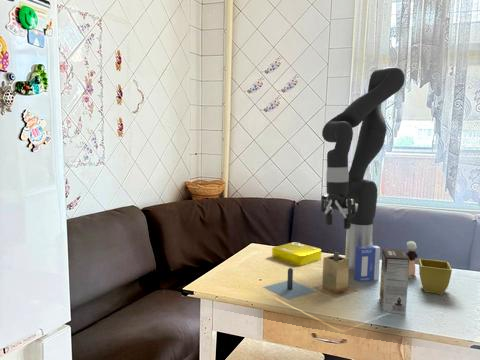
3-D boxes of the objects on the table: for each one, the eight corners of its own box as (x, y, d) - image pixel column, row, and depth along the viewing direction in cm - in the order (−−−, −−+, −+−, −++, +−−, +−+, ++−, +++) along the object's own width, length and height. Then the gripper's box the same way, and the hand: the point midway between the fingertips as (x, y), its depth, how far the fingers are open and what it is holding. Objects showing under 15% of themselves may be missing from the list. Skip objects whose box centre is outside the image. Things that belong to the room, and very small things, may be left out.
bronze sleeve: (334, 284, 136) (335, 254, 135) (347, 289, 132) (349, 259, 131) (322, 288, 133) (323, 257, 132) (335, 293, 129) (337, 262, 127)
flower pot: (446, 288, 136) (448, 261, 135) (450, 298, 128) (452, 269, 127) (417, 284, 139) (418, 258, 138) (419, 293, 131) (420, 266, 130)
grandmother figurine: (408, 272, 151) (410, 238, 149) (419, 275, 148) (421, 240, 146) (399, 277, 145) (401, 242, 144) (410, 280, 142) (412, 244, 141)
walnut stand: (333, 282, 139) (334, 246, 138) (357, 291, 131) (359, 253, 130) (312, 288, 134) (313, 250, 132) (336, 298, 126) (338, 258, 124)
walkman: (358, 282, 140) (359, 247, 138) (354, 279, 142) (355, 245, 141) (379, 281, 141) (381, 246, 140) (375, 278, 144) (377, 244, 143)
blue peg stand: (290, 280, 140) (291, 260, 139) (317, 292, 131) (317, 269, 130) (263, 288, 133) (263, 266, 132) (288, 300, 124) (289, 277, 123)
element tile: (269, 258, 167) (270, 246, 166) (294, 251, 177) (294, 240, 176) (299, 267, 156) (299, 255, 155) (323, 259, 166) (323, 248, 165)
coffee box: (378, 299, 126) (381, 247, 124) (401, 301, 124) (404, 249, 122) (382, 312, 117) (386, 256, 115) (407, 314, 115) (410, 258, 114)
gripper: (361, 180, 139) (361, 228, 140) (331, 178, 151) (331, 222, 153) (344, 182, 135) (344, 231, 137) (315, 179, 147) (315, 224, 149)
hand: (337, 226), depth 145 cm, fingers open, 8 cm apart
